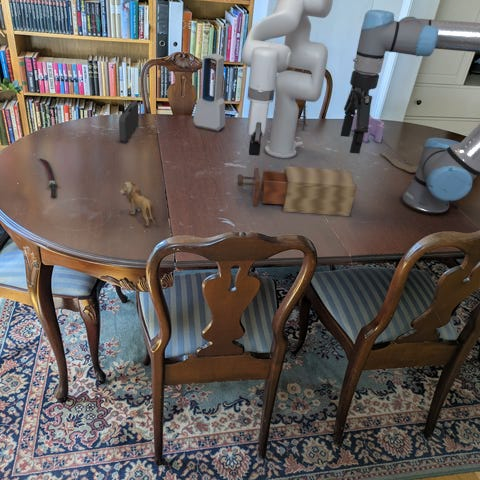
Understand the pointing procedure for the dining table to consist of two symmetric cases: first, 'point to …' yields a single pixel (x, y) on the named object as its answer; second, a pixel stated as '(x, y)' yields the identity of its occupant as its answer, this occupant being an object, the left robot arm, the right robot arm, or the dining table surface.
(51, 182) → the sword
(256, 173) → the drawer
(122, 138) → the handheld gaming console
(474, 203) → the dining table surface
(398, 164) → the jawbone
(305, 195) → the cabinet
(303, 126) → the miniature windmill
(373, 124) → the clip
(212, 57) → the electronic device
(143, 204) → the lion figurine
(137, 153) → the dining table surface
